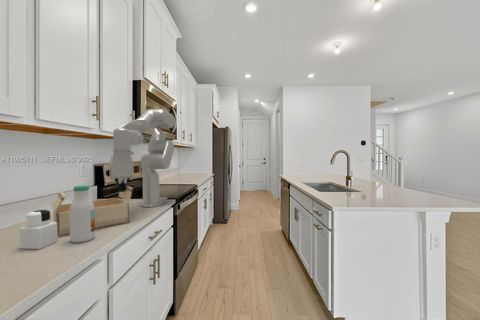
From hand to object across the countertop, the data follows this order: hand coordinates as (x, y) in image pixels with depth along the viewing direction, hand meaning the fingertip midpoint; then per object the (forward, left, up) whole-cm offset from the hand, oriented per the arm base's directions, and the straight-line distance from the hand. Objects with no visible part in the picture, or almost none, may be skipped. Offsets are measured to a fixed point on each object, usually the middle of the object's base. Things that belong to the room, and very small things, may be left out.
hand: (121, 191), depth 110 cm
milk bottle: (+19, +19, -14) cm, 29 cm away
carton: (+12, 0, -13) cm, 18 cm away
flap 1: (+26, 0, -4) cm, 26 cm away
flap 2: (-1, 0, -4) cm, 4 cm away
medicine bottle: (+30, +15, -14) cm, 36 cm away
